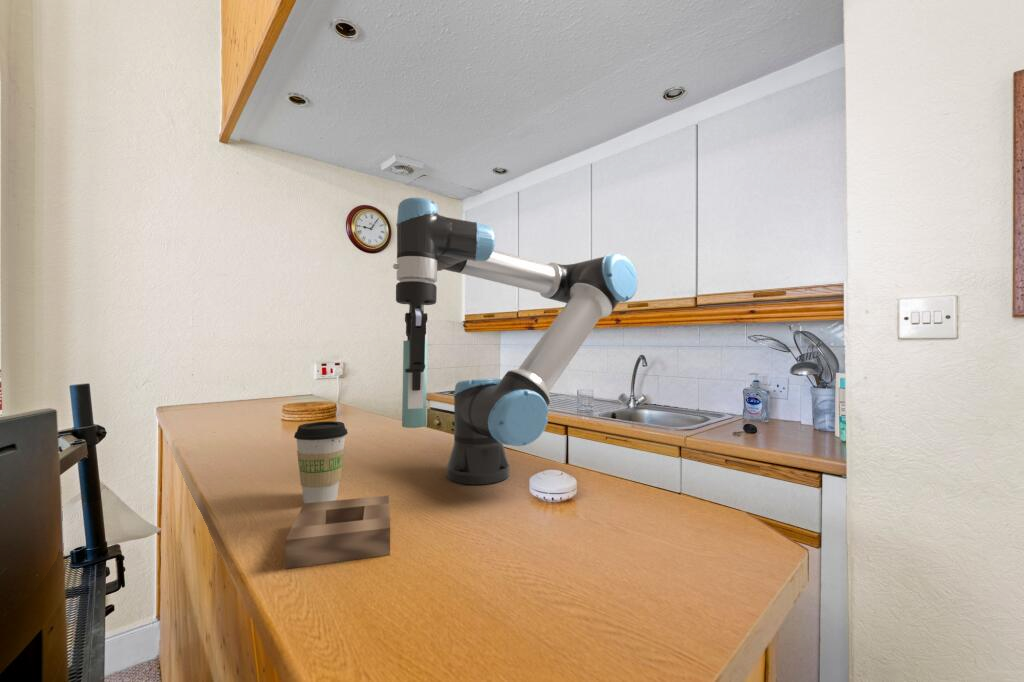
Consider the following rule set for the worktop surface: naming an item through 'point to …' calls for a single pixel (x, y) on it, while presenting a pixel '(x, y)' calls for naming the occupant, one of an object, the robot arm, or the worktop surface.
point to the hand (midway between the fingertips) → (414, 406)
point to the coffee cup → (320, 459)
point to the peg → (409, 416)
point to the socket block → (339, 532)
